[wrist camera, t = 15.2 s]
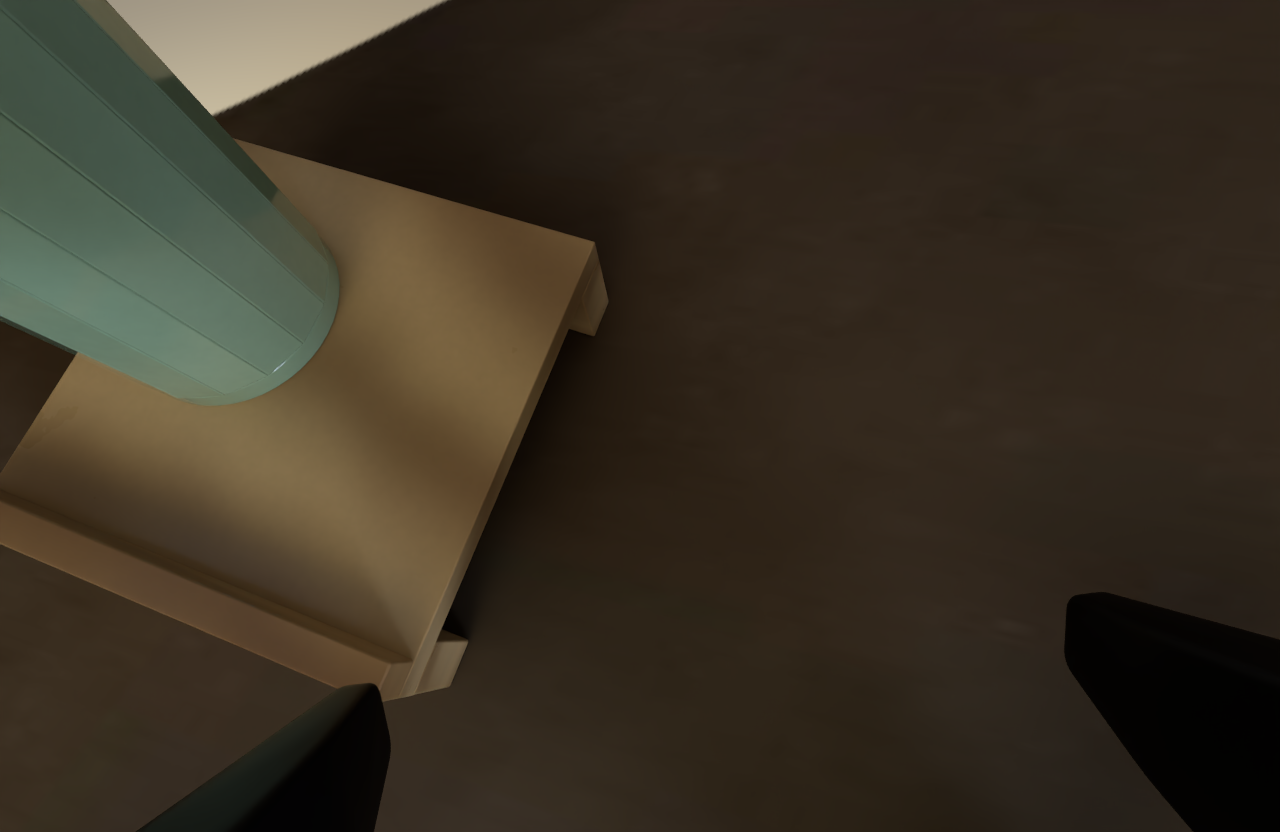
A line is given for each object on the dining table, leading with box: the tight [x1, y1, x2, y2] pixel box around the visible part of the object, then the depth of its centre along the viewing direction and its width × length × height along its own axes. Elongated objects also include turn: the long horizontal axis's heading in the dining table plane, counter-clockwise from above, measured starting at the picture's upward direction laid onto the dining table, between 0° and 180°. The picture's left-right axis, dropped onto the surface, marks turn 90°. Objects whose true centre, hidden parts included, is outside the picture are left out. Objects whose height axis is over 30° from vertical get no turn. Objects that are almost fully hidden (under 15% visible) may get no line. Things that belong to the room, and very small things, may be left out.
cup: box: [0, 0, 340, 406], centre depth 16 cm, size 7×7×12 cm
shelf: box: [0, 139, 609, 702], centre depth 22 cm, size 14×14×6 cm
